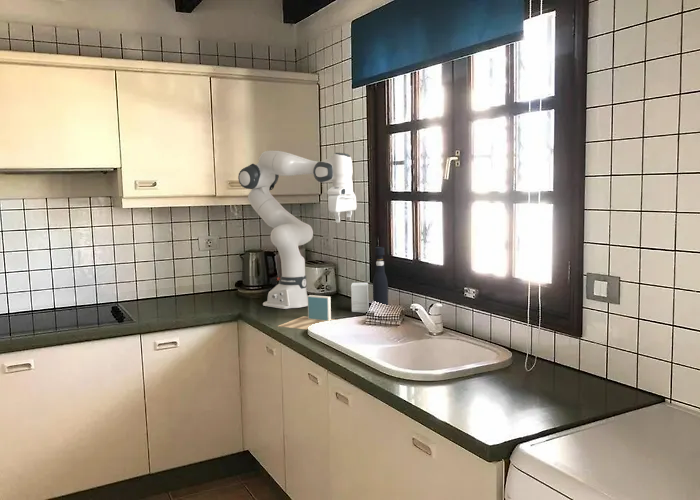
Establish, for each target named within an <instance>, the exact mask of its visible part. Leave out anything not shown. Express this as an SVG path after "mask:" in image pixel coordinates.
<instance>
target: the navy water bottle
mask: <svg viewBox="0 0 700 500" xmlns="http://www.w3.org/2000/svg"><path fill="white" fill-rule="evenodd" d="M374 250H375V252H374V253H375V255H374V256H376V262H375V264H376V265H375V274H374V276H373V281H372V303H373V302H374V301H376V302H379V303H382V304H386V305H388V306H389V285H388V278H387V275H386V272H385V261H384V256H385V247H384V246H376V247H374Z"/></svg>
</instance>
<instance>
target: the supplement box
mask: <svg viewBox="0 0 700 500" xmlns="http://www.w3.org/2000/svg"><path fill="white" fill-rule="evenodd" d="M350 292H351V293H350V295H351V297H350V298H351V303H350V304H351V312H352V313H364V314H367V313H366V312H367V311H368V312H369V310H368V309H369V308H370V307H369V305H370V304H369V283H368V282H352V283H351V285H350Z"/></svg>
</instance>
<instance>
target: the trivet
mask: <svg viewBox="0 0 700 500" xmlns="http://www.w3.org/2000/svg"><path fill="white" fill-rule="evenodd" d="M331 320H337V319H335V318H334V319H333V318H331ZM319 322H324V321H322V320H312V319H308V316H306V315H305V316H300V317H298V318H297V317H296V318H295V319H292V320H289V321H288V322H287V321H286V322H285V323H282V324H279V325H278V327H281V328H290V329H298V330H299V329H300V330H307V329H308V327H309V326H310V325H312V324H315V323H319Z"/></svg>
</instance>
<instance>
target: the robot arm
mask: <svg viewBox="0 0 700 500" xmlns="http://www.w3.org/2000/svg"><path fill="white" fill-rule="evenodd" d="M353 169H354V168H353V160H352V156H351V155H350V154H348V153H344V152H334V153H333V154H332V155H331V156H330V157H328V158H326V159H324V160H321V161H317V160H312V159H308V158H305V157H302V156H299V155H296V154H295V153H294V154H293V153H290V152H286V151H282V150H265V151H263V152H262V153H261V154H260V156H259V157H258V162H257V163H256V164H255V163H250V164H248V166H246V167H243V168H242V169H240V171H239V173H238V177H237V179H238V183H239V185H240V186H241V187H242V188H244V189H246V190H247V189H248V190H250V192H249V193H248V195H247V200H248V202H249V204H250V205H251V207H252V209H253V210H254V211H255V213H257V215H258V216H259V217H260V218H261V219H262V220H263V221H264V223H265V224H266V225H267V226H268V227H270V228H272V230H271V232H270V242H271V243H272V244H273V246H274V247H275V248H276V250H277V251H278V255H279V257H280V262H281V263H280V265H281V266H280V267H281V275H280V276H279V277H276V279H277V281H278V284H276V285H275V286H274V287H273V288H272V289H270V291H268V294H267V300H266V301H264V302H263V303H262V306H265V307H270V308H276V309H283V310H284V309H285V310H287V309H298V308H304V307H308V293H307V275H306V259H305V257H304V256H302V254H301V252H300V249H299V246H303V245H305V244H307V243H309V242H310V241H311V240H313V237H314V230H313V227H312V225H310V224H308V223H306V222H304V221H302V220H301V219H299V218H297V217H296V216H294V215H293V214H291V213H290V212H289V211H288V210H287V209H285V208H284V207H283V206H282V204H281V203H280V202H279V201H278V200H277V199H276V198H275V197H274V196H273V195H272V194H271V193H272V192H270V191H271V190H274V188H275V186H276V184H277V183H278V181H279V177H281V176H282V177H283V176H284V177H291V176H299V175H300V176H301V175H313V177H314V180H316V181H317V182H318V183H323V184H324V183H325V184H327V183H328V184H330V183H332V186H331V187H330V188H328V189H327V195H328V197H327V206H328V208H327V209H328V211H329V213H331V214H333V215H334V218H335V223H337V224H339V223H341V222H342V218H341V217H340V215H341V213H342V212H346V217H345V222H351V221H352V215H353V211H356V210H357V196H356V194H355V191H354V181H353V174H354V172H353Z"/></svg>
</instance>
